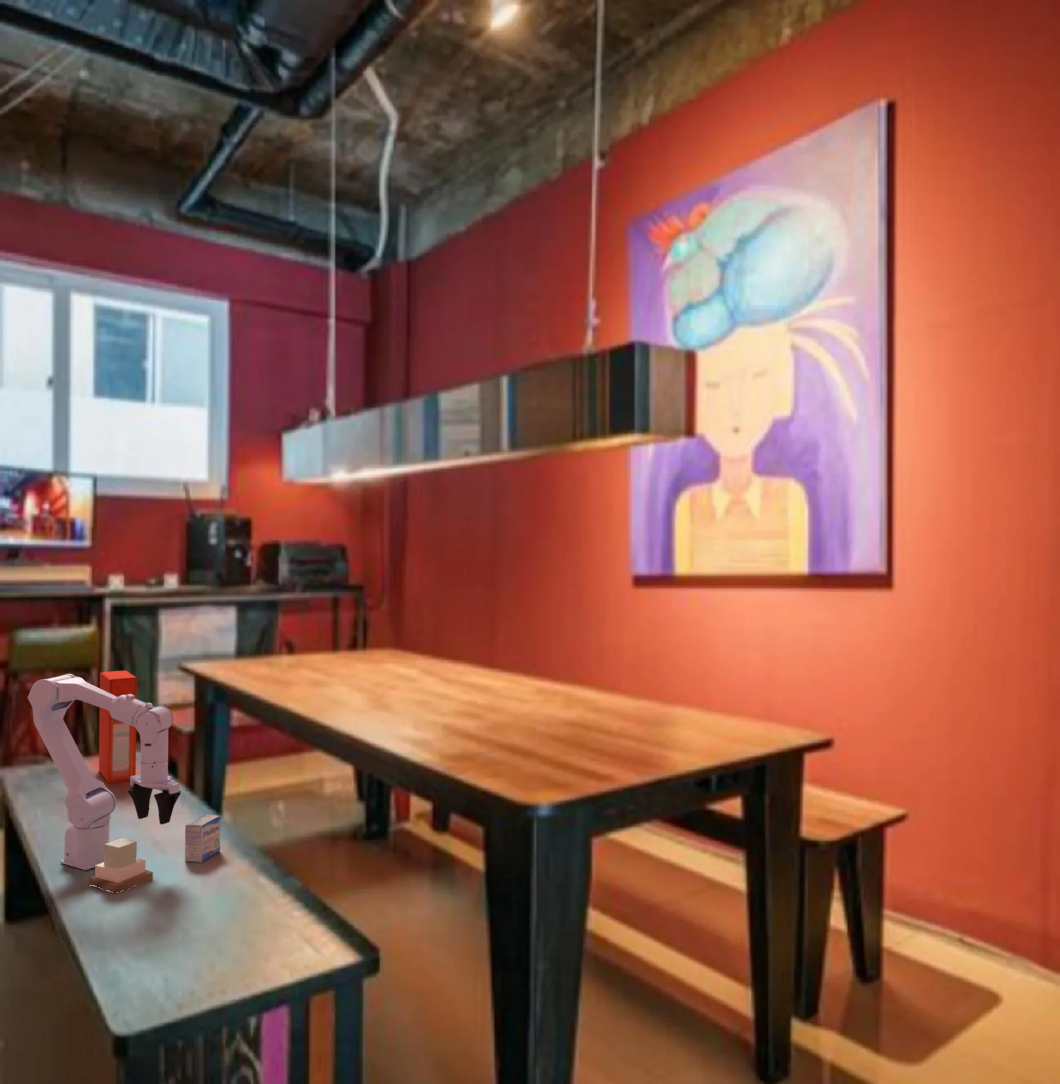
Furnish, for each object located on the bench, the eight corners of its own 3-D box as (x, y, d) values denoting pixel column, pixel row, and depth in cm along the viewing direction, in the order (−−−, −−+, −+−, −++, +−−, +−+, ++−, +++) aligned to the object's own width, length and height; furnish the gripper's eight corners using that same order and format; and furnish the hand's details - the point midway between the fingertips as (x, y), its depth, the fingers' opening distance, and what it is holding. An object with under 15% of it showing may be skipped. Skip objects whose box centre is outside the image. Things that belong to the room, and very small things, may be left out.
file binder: (106, 783, 257) (109, 679, 257) (97, 771, 271) (100, 672, 271) (135, 779, 261) (137, 677, 262) (125, 767, 275) (127, 670, 276)
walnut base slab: (88, 889, 180) (88, 877, 180) (125, 875, 188) (126, 864, 188) (115, 898, 175) (115, 886, 175) (152, 883, 183) (152, 872, 183)
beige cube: (103, 865, 180) (104, 844, 180) (122, 858, 184) (122, 837, 184) (118, 869, 178) (118, 847, 178) (136, 862, 182) (136, 841, 182)
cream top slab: (95, 877, 180) (95, 865, 180) (123, 866, 186) (123, 855, 186) (117, 883, 177) (117, 871, 177) (145, 872, 183) (145, 860, 183)
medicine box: (201, 863, 193) (202, 825, 194) (184, 861, 194) (184, 824, 194) (220, 851, 201) (221, 815, 201) (203, 850, 202) (204, 814, 202)
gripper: (190, 761, 191) (189, 820, 191) (149, 753, 198) (148, 810, 198) (163, 767, 185) (163, 829, 185) (122, 759, 192) (121, 819, 192)
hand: (153, 820), depth 191 cm, fingers open, 7 cm apart
